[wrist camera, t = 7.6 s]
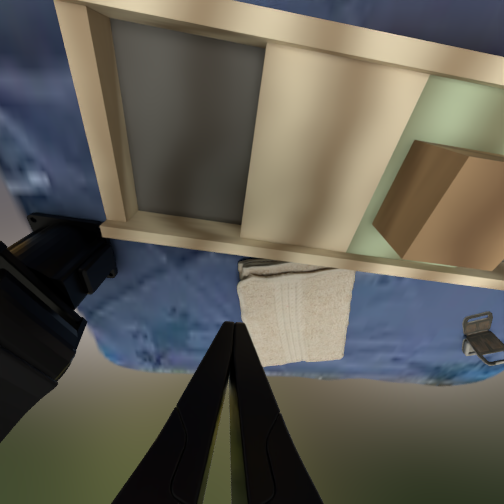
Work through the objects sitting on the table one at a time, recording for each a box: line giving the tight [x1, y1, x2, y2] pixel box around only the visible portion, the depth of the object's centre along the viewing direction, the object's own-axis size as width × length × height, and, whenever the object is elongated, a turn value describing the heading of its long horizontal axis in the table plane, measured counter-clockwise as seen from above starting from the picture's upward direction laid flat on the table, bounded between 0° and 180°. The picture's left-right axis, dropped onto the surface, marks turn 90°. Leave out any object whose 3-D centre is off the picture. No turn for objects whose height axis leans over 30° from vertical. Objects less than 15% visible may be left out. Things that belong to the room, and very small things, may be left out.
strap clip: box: [462, 311, 504, 366], centre depth 28 cm, size 8×3×4 cm, turn 27°
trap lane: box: [54, 0, 504, 290], centre depth 16 cm, size 40×14×4 cm, turn 82°
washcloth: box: [237, 258, 356, 367], centre depth 27 cm, size 12×18×3 cm, turn 10°
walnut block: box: [372, 140, 504, 271], centre depth 14 cm, size 6×6×4 cm
